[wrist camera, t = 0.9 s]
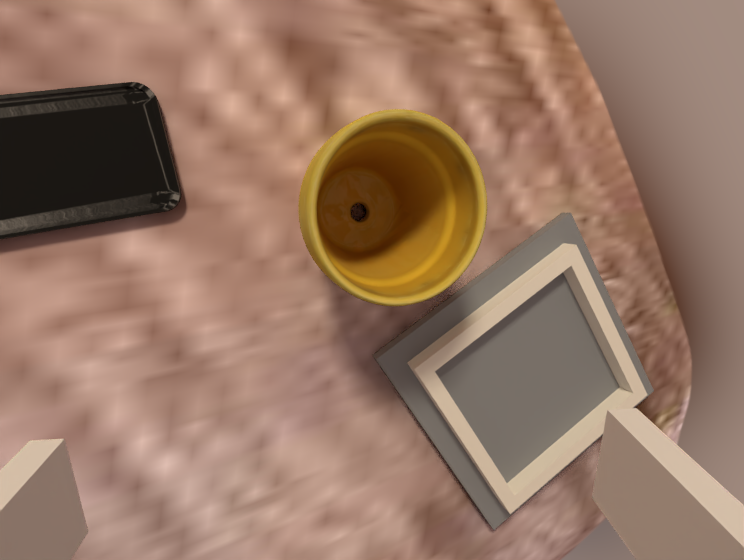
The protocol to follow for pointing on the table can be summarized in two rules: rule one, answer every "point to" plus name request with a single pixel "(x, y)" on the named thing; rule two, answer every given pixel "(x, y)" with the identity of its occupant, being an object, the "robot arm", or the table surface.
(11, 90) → the table surface
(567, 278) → the board
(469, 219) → the plant pot
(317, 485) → the table surface
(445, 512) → the table surface
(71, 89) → the phone
